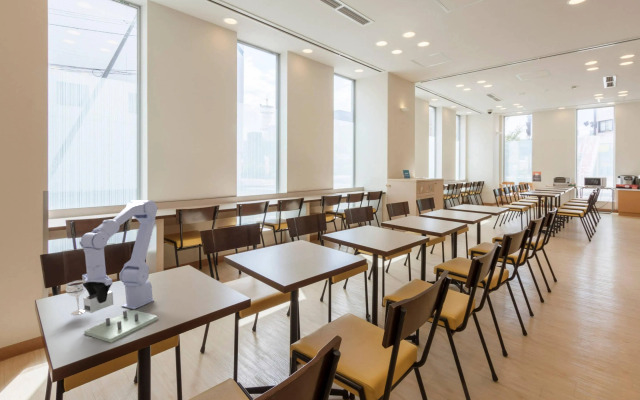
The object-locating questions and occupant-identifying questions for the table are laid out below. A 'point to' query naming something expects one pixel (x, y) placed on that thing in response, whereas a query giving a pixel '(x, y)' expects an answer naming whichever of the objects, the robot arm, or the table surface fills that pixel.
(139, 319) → the pale green peg board
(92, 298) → the drive
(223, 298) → the table surface
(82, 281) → the wineglass
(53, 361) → the table surface
